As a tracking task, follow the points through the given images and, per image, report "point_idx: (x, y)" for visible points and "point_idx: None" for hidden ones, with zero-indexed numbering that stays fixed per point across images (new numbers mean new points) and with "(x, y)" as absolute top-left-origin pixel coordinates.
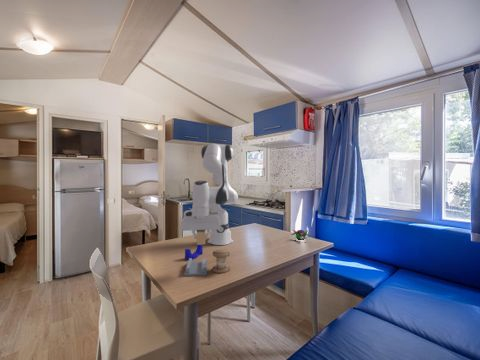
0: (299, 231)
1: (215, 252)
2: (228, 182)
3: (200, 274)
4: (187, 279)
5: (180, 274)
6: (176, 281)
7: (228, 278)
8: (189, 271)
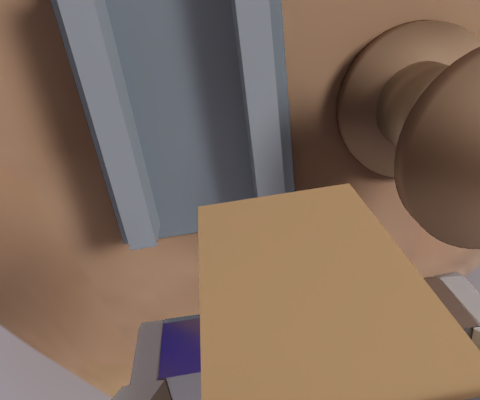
0: None
1: (442, 155)
2: None
3: None
4: (170, 274)
5: (85, 207)
6: (105, 302)
7: (443, 243)
8: (155, 210)
